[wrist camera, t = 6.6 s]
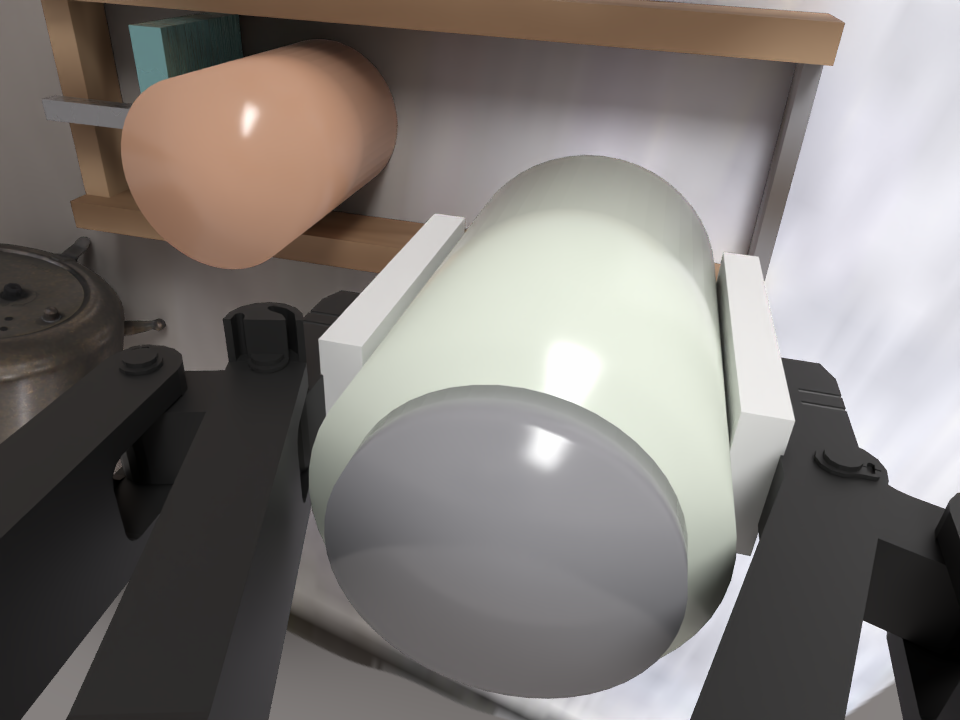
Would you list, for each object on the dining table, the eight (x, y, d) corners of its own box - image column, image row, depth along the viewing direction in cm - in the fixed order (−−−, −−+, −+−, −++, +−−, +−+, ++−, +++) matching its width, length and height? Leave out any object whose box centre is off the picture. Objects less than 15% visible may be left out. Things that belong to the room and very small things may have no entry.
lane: (68, -43, 29) (10, -41, 27) (828, 13, 24) (844, 23, 22) (120, 206, 35) (76, 227, 32) (752, 296, 30) (759, 330, 27)
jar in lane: (254, 32, 29) (102, 67, 22) (396, 45, 28) (289, 87, 21) (269, 180, 32) (140, 255, 25) (398, 197, 31) (305, 281, 24)
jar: (471, 141, 17) (261, 335, 9) (741, 171, 16) (801, 428, 7) (461, 364, 20) (300, 667, 12) (687, 403, 19) (686, 769, 10)
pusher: (77, 0, 30) (-23, 11, 26) (238, 14, 28) (160, 27, 24) (114, 179, 34) (32, 214, 29) (258, 198, 32) (194, 238, 28)
